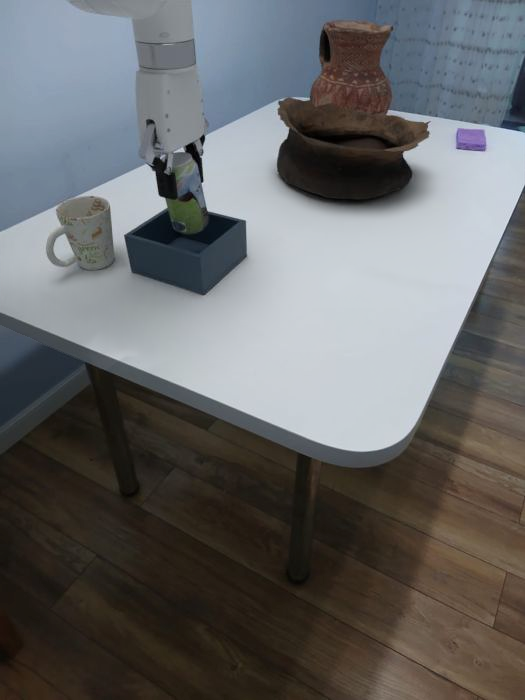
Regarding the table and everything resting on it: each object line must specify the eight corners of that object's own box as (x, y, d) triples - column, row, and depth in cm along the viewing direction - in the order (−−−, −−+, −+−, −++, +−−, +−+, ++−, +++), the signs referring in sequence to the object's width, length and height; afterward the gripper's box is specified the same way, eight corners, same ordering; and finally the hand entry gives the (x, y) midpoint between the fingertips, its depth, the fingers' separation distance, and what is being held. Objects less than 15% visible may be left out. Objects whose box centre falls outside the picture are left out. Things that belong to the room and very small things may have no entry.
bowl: (308, 151, 130) (317, 88, 121) (431, 183, 118) (451, 116, 109) (237, 185, 106) (241, 109, 97) (383, 229, 94) (404, 148, 85)
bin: (131, 272, 83) (123, 235, 78) (179, 237, 92) (174, 202, 87) (204, 295, 77) (200, 257, 73) (247, 256, 86) (246, 220, 82)
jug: (394, 122, 144) (411, 20, 127) (376, 145, 129) (392, 32, 113) (322, 113, 151) (329, 15, 134) (297, 134, 136) (301, 27, 120)
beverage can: (217, 229, 81) (213, 155, 73) (181, 244, 77) (173, 166, 69) (193, 217, 85) (187, 145, 77) (157, 230, 80) (147, 155, 73)
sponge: (456, 149, 127) (458, 141, 126) (456, 133, 136) (457, 126, 135) (485, 151, 125) (487, 144, 124) (482, 136, 135) (484, 128, 133)
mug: (131, 257, 86) (120, 203, 80) (75, 291, 78) (58, 234, 72) (97, 244, 90) (84, 191, 83) (41, 276, 82) (21, 220, 75)
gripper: (181, 42, 71) (193, 166, 83) (98, 65, 60) (125, 206, 72) (226, 46, 69) (231, 174, 80) (147, 71, 57) (167, 217, 69)
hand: (181, 188), depth 76 cm, fingers closed on beverage can, 6 cm apart
